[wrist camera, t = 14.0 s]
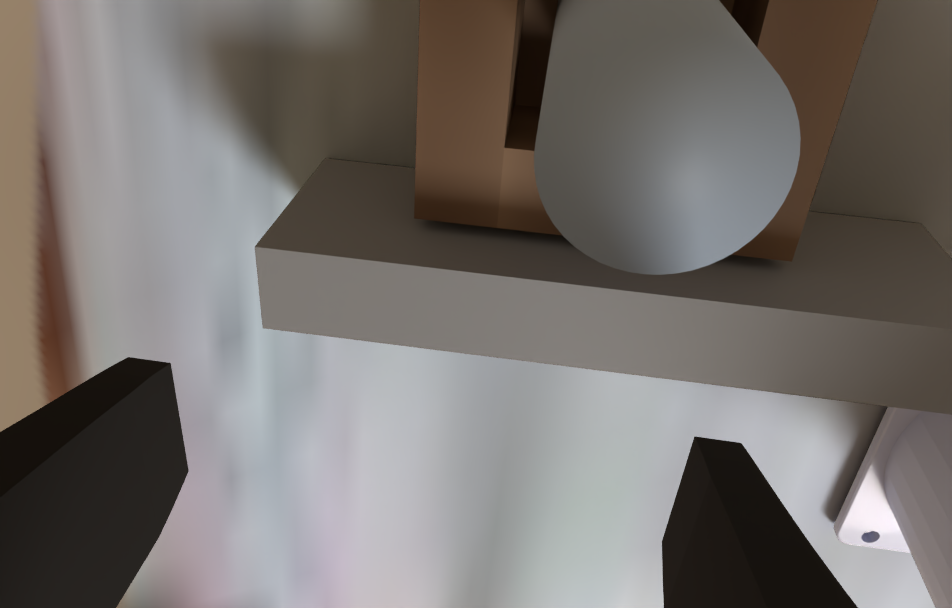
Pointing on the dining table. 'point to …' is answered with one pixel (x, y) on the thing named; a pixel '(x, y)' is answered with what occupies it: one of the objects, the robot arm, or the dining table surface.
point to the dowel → (661, 134)
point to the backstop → (615, 297)
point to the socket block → (521, 92)
